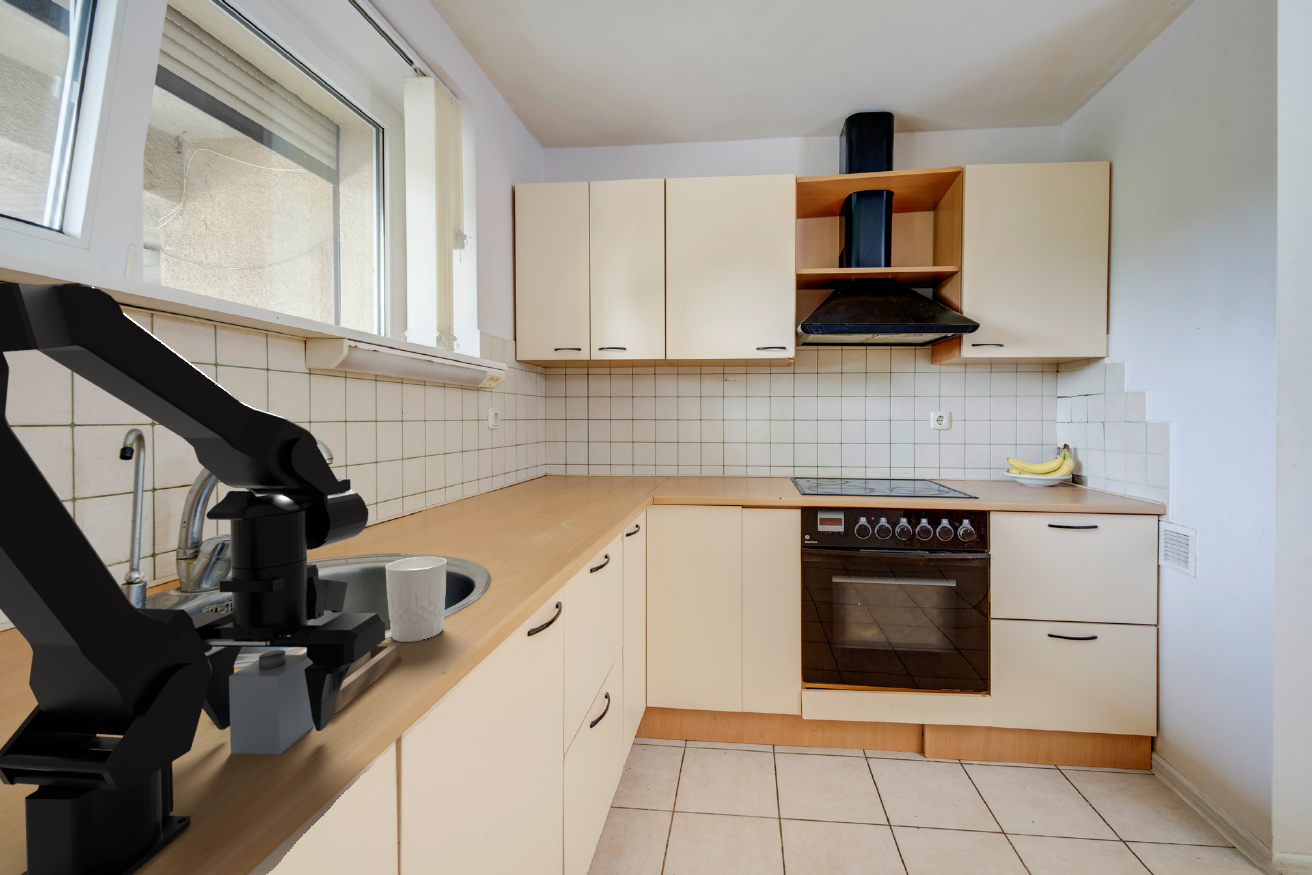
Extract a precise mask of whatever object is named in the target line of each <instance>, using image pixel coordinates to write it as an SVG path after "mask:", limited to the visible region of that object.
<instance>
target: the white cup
mask: <svg viewBox="0 0 1312 875" xmlns="http://www.w3.org/2000/svg"><path fill="white" fill-rule="evenodd" d="M447 563H448V562H447V558H445V557H440V556H414V557H407V558H401V559H398V560H395V561H391V562H389V563H387V564H386V565H385V580H386V596H387V597H386V598H387V607H388V618H389V620H390V622H389V624H390V636H391V639H392V640H393V641H397V642H398V643H403V642H404V643H412V642H413V643H414V642H420V641H424V640H423V639H425V640H428V639H427V638H429V639H431V638H430V637H432V638H434V637H435V636H434V635H436V636H438V635H439V634H438V633H440V632H441V631H443V630H444V621H445V619H444V618H445V615H444V613H445V607H446V602H445V600H446V592H447V591H446V590H447V589H446V588H447V565H448V564H447ZM442 629H443V630H442ZM441 633H442V632H441ZM441 633H440V634H441ZM437 634H438V635H437ZM433 636H434V637H433Z"/></svg>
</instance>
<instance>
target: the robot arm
mask: <svg viewBox="0 0 1312 875" xmlns="http://www.w3.org/2000/svg"><path fill="white" fill-rule="evenodd" d="M22 351H38V352H40V353H41V354H43V355H45V356H47V357H48V358H50V359H51V360H53V361H55V362H57V363H58V364H60V365H62V366H63V367H65V368H67V369H68V370H69V371H71V372H73V373H74V374H76V375H78V376H80V377H81V378H83V379H84V380H86V381H88V382H89V383H92V384H93V385H95V386H96V387H98V388H99V389H101V390H103V391H104V392H106V393H108V394H109V395H111V396H113V397H114V398H116V399H118V400H120V401H121V402H123V404H126V405H128V406H129V407H131V408H132V409H134V410H135V411H137V412H139V413H141V414H142V415H144V416H146V417H147V418H149V419H151V420H152V421H153V422H156V423H158V424H159V425H161V426H163V427H165V428H166V429H167V430H169V431H170V432H172V433H174V434H175V435H177V436H179V437H181V438H182V439H184V441H186V442H187V443H188V444H189V445H191V447H193V450H194V453H195V456H196V459H197V461H198V463H199V464H200V465H201V466H202V467H203V468H204V469H206V470H207V471H208V472H210V473H211V474H212V475H213V476H214V477H215V478H216V479H218V480H219V481H220V482H221V483H223V485H225V486H227V487H230V488H234V489H245V490H228V492H227V493H226V495H225V496H224V498H222V499H221V500H220V501H219V502H218V503H216V504H215V505H214V506H212V508H210V509H209V511H207V512H206V516H205V517H206V519H207V520H210V521H211V520H212V521H230V559H231V560H230V563H231V564H230V565H231V566H230V567H231V570H230V571H231V576H230V577H227V578H224V579H221V580H219V593H231V607H232V608H231V610H232V611H231V612H229V611H227V612H223V611H221V612H217V611H216V612H215V611H214V612H213V611H210V612H206V611H204V612H202V611H201V612H197V613H195V614H193V615H190V614H189V613H188V612H187V611H186V610H185V609H182V608H155V607H154V608H152V607H149V608H148V607H147V608H146V607H136V606H135V605H134V604H133V603H132V601H130V599H129V598H128V596H127V595H126V593H125V591H124V589H122V587H121V586H120V584H119V583H118V582H117V580H116V578H115V577H114V576H113V574H112V573H111V571H110V570H109V569H108V566H106V564H105V563H104V561H103V560H102V558H101V557H100V555H99V554H98V552H97V551H96V549H95V548H94V546H93V545H92V544H91V542H90V540H89V539H88V537H87V536H86V535H85V534H84V532H83V531H82V529H81V528H80V526H79V524H77V522H76V520H75V519H74V518H73V516H72V514H71V513H70V512H69V510H68V509H67V508H66V506H65V504H64V503H63V501H62V500H61V499H60V497H59V496H58V494H57V492H56V491H55V490H54V488H53V487H52V485H51V484H50V483H49V481H48V480H47V478H46V477H45V475H44V474H43V471H41V469H40V467H39V466H38V465H37V464H36V462H35V461H34V458H32V457H31V455H30V454H29V452H28V450H27V449H26V447H25V446H24V444H23V443H22V442H21V440H20V439H19V438H18V436H17V433H15V432H14V430H13V429H12V427H11V425H10V424H9V421H8V419H7V414H6V412H7V403H8V402H7V400H8V389H9V378H10V367H9V363H8V361H7V359H6V356H5V354H4V353H7V352H8V353H9V352H22ZM318 445H319V444H318V441H317V439H316V437H315V436H314V435H313V434H312V433H311V431H310V430H308V429H307V428H305V427H304V426H301V425H299V424H297V423H296V422H294V421H291V420H289V419H288V418H286V417H284V416H281V415H278V414H274V413H272V412H268V411H266V410H265V411H264V410H262V409H259V408H255V407H252V406H250V405H248V404H247V403H245V402H243V401H241V400H240V399H238V398H237V397H236V396H234V395H233V394H231V393H230V392H229V391H227V389H225V388H224V387H223V386H221V385H220V384H219V383H217V382H216V381H214V380H213V379H212V378H210V377H209V376H208V375H207V374H205V373H204V372H203V371H201V370H200V369H198V368H197V367H196V366H194V365H193V364H192V363H191V362H189V361H188V360H187V359H186V358H184V357H183V356H182V355H180V354H179V353H178V352H176V351H174V349H172V348H171V347H169V345H167V344H165V343H164V342H163V341H162V340H160V339H159V338H158V337H156V336H155V335H153V334H152V333H151V332H150V331H148V330H147V329H146V328H144V327H143V325H142V326H141V325H140V324H139V323H137V322H136V321H135V320H133V319H132V318H131V317H130V316H128V315H127V314H126V313H125V312H123V309H122V308H121V306H120V303H118V301H117V300H116V299H114V298H113V296H112V294H109V293H107V292H105V291H104V290H102V289H100V288H96V287H94V286H92V285H87V284H84V283H80V282H71V283H69V282H66V283H65V282H64V283H44V284H42V283H41V284H32V283H20V282H18V283H17V282H0V610H1V612H2V613H3V614H4V615H5V617H6V618H7V619H8V620H9V621H10V622H11V624H12V625H13V626H14V628H16V630H17V631H18V632H19V633H20V634H21V635H22V636H23V638H24V639H25V641H27V642H28V644H29V646H30V648H31V651H32V656H31V666H30V673H29V681H28V685H29V688H30V690H31V691H32V694H33V695H34V698H35V700H36V702H37V705H36V706H35V707H34V708H33V709H32V711H31V712H30V713H29V714H28V715H27V717H26V718H25V719H24V720H23V721H22V723H21V724H20V725H19V726H18V728H16V730H15V731H14V733H13V734H12V735H11V736H10V737H9V738H8V740H7V741H6V742H5V743H4V744H3V746H2V747H1V748H0V780H1V782H2V783H3V784H4V785H7V786H9V785H11V786H15V785H17V784H18V785H19V784H20V785H30V786H31V785H32V786H38V787H37V789H36V790H35V791H32V792H31V793H29V794H28V795H26V796H25V798H24V807H25V809H24V810H25V811H24V812H25V815H24V816H25V843H26V844H25V846H26V847H25V848H26V851H25V852H26V871H24V872H22V873H21V874H20V875H129V874H130V875H131V874H133V872H135V871H134V870H137V869H138V868H140V867H141V866H142V865H143V864H144V863H145V862H147V861H148V860H149V859H150V858H152V857H153V856H155V855H156V854H157V853H158V852H159V851H160V850H161V849H163V848H164V847H165V846H166V845H168V844H169V843H170V842H171V841H173V839H175V838H176V837H177V836H178V835H180V834H181V833H182V832H184V831H185V830H186V829H187V828H189V826H190V825H191V824H192V819H191V816H189V815H171V813H172V812H173V811H174V779H173V778H174V777H173V776H174V775H173V773H174V772H173V771H174V770H173V762H174V761H176V760H178V759H180V758H181V757H182V756H184V755H186V754H187V753H189V752H190V751H191V750H192V748H193V747H192V746H193V743H194V740H195V736H196V732H197V730H198V726H199V722H200V718H201V715H202V711H204V713H205V714H206V715H207V717H208V718H209V719H210V720H211V722H212V723H213V724H214V725H215V726H216V728H217V729H218V730H219V731H225V730H226V729H228V728H230V696H229V676H230V675H232V674H234V673H235V664H236V661H237V659H238V656H239V654H240V652H241V650H242V648H299V647H306V652H307V657H308V658H309V659H310V660H311V661H312V662H313V664H311V665H310V666H308V667H307V668H305V669H304V672H305V678H306V684H307V690H308V696H309V702H310V708H311V714H312V720H313V723H314V729H315V731H316V732H322V731H323V730H325V728H327V726H328V724H329V722H330V719H331V715H333V714H332V711H333V708H334V705H335V703H336V700H337V697H338V694H339V692H340V688H341V686H342V683H343V681H344V679H345V677H346V675H347V673H348V670H349V668H350V667H351V665H352V663H354V662H356V661H357V660H358V659H360V658H361V657H362V656H364V655H365V654H367V653H368V652H369V651H371V650H372V649H373V648H375V647H376V646H378V645H379V644H380V643H384V642H385V641H386V623H385V621H384V619H383V618H382V616H380V614H379V613H377V612H343V610H344V605H345V600H346V595H347V591H348V590H347V589H348V584H349V582H348V581H341V580H332V579H322V578H321V579H320V577H319V572H320V571H319V568H318V567H317V564H308V551H311V550H315V549H319V548H323V547H326V546H329V545H332V544H333V545H334V544H336V543H339V542H343V541H345V540H349V539H352V538H354V537H357V536H359V535H360V534H361V533H362V532H363V530H364V529H365V528H366V526H367V524H368V520H369V509H368V507H367V505H366V502H365V501H364V499H363V497H362V496H361V495H360V494H359V493H358V492H357V491H355V490H353V489H351V484H352V483H351V479H350V478H337V477H336V476H335V473H334V472H333V470H332V469H331V466H330V465H329V463H328V462H327V460H326V458H325V456H324V454H323V453H322V451H321V450H320V448H319V446H318ZM325 611H326V612H328V611H330V612H331V613H332V614H334V613H335V614H337V613H338V614H339V615H337V616H335V617H334V618H332V619H330V620H328V621H327V622H324V623H323V624H320V625H319V624H314V625H313V624H309V622H310V621H311V620H318V619H319V618H322V617H323V616H325ZM340 613H341V614H340ZM98 735H99V736H98ZM100 735H104V736H100ZM105 735H106V736H105ZM115 736H121V737H115ZM136 868H137V869H136Z"/></svg>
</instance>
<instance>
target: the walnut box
mask: <svg viewBox="0 0 1312 875" xmlns="http://www.w3.org/2000/svg"><path fill="white" fill-rule="evenodd" d="M286 655H307V652H306V647H296V648H295V649H294V650H292V651H290V652H288V653H286ZM401 660H402V642H382V643H380V644H379V645H378V646H376V647H375V648H373V649H372V650H371V651H369V652H368V653H367V654H365V655H364V656H362V657H361V658H360V659H358V660H357V661H356V662H354V663H352V665H351V667H350V668H349V670H348V673H347V675H346V677H345V679H344V681H343V683H342V686H341V688H340V692H339V694H338V697H337V700H336V703H335V705H334V708H333V711H332V714H331V715H333V714H334V715H336V714H337V713H338V712H340V711H341V710H342V709H343V708H345V707H346V706H347V705H348V704H349V703H350V702H352V701H353V700H354V699H355V698H356V697H357V696H359V695H360V694H361V693H362V692H363V691H365V690H366V689H367V688H369V687H370V686H371V685H372V684H374V682H376V680H378V679H379V678H380V677H381V676H383V675H384V674H385V673H386V672H387V671H389V670H390V669H391V668H392V667H393V666H395V664H397V663H398V662H399V661H401Z"/></svg>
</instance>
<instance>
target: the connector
mask: <svg viewBox="0 0 1312 875" xmlns="http://www.w3.org/2000/svg"><path fill="white" fill-rule="evenodd" d="M311 664H313V662H312V661H311V660H310V659H309V658H308V657H307V655H287V654H286V650H284V649H276V650H270V651H266V652H263V653H262V654H260V655H259V656H258V659H257V660H255V661H253V662H252V663H250V664H248V665H246V666H245V667H243V668H240V669H239V670H238V671H234V674H232V675H230V676H229V696H230V726H229V728H230V729H229V730H230V754H231V755H233V754H234V755H235V754H236V755H281V754H283V753H284V751H286V750H287V749H289V748H290V747H291V746H292V745H294V743H295V742H297V741H298V740H299V739H300V738H302V737H304V735H305V734H306V733H308V732H309V731H310V730H312V728H315V726H314V723H313V720H312V714H311V708H310V702H309V696H308V690H307V684H306V678H305V672H304V669H305V668H307V667H308V666H310V665H311Z"/></svg>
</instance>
